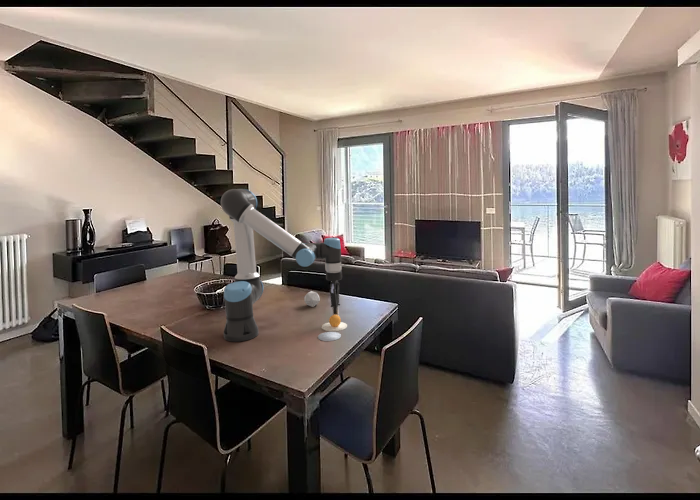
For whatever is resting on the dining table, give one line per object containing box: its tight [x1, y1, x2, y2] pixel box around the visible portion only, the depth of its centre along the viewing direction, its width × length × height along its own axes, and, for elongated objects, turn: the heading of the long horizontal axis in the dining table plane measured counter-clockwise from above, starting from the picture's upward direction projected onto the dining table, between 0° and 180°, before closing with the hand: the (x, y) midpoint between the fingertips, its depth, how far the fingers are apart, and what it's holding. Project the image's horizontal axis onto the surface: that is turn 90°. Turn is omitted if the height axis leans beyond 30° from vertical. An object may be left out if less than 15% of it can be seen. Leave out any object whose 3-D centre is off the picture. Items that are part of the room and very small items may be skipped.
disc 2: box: [317, 331, 342, 342], centre depth 167 cm, size 10×10×1 cm
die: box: [304, 290, 321, 308], centre depth 211 cm, size 8×9×10 cm
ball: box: [328, 314, 342, 327], centre depth 179 cm, size 6×6×6 cm
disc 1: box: [321, 321, 348, 332], centre depth 179 cm, size 12×12×1 cm
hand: (336, 319), depth 183 cm, fingers closed
